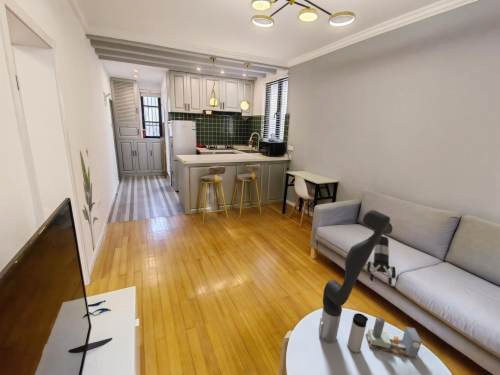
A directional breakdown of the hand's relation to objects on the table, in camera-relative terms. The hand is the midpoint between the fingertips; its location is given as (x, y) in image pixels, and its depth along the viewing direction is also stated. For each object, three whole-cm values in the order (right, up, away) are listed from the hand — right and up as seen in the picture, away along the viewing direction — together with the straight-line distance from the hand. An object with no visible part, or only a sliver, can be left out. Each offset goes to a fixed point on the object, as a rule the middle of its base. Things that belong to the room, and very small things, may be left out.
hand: (380, 283), depth 131 cm
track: (+1, -31, -6) cm, 32 cm away
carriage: (-4, -28, -6) cm, 29 cm away
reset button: (+5, -29, -8) cm, 30 cm away
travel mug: (-18, -31, -8) cm, 37 cm away
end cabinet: (+10, -31, -8) cm, 34 cm away
